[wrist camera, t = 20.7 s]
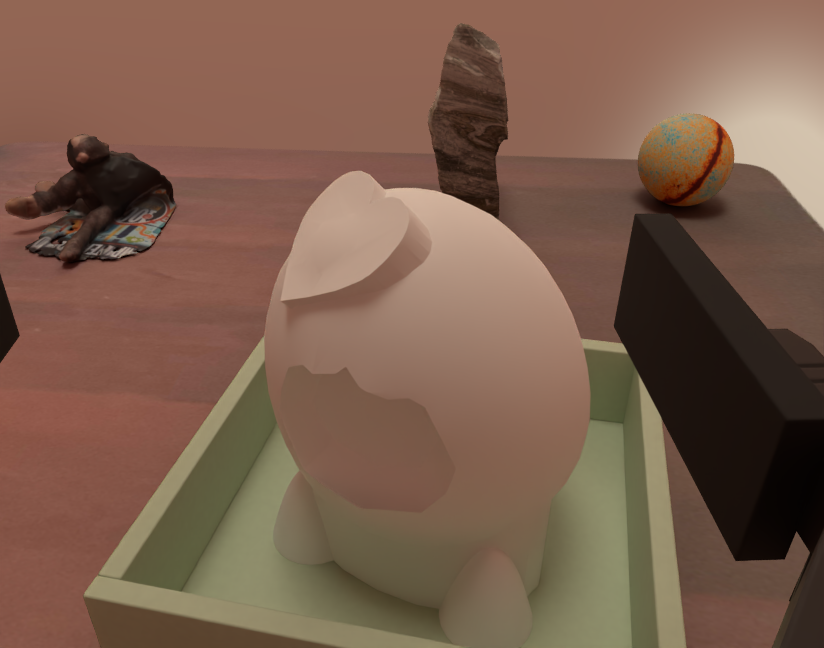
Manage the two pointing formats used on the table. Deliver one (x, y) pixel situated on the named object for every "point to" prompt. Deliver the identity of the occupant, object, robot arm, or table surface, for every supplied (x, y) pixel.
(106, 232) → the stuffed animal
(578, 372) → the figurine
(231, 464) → the tote
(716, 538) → the table surface
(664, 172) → the ball
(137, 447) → the table surface
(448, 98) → the rock
